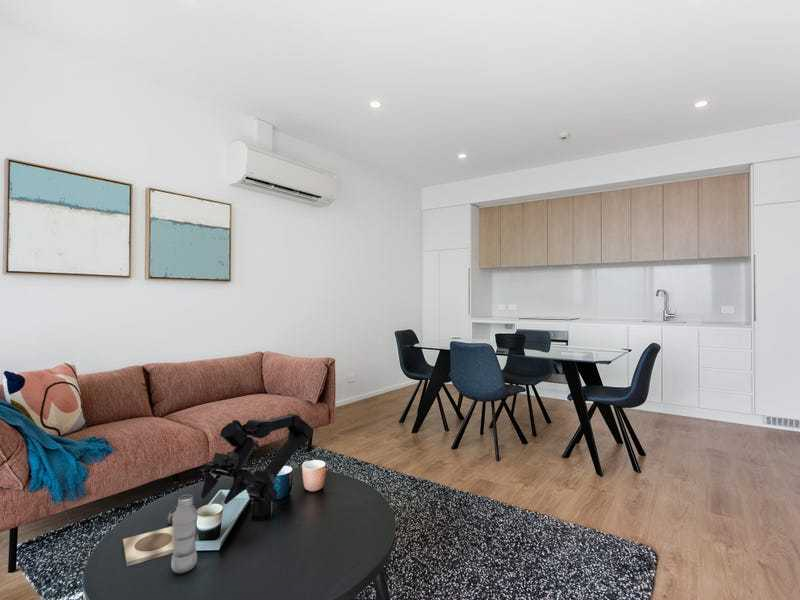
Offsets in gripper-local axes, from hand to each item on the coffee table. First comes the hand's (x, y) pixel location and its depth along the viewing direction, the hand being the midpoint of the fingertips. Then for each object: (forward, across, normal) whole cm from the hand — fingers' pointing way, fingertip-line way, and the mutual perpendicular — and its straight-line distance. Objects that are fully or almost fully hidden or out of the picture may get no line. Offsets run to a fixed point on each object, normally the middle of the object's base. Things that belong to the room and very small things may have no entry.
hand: (213, 500), depth 130 cm
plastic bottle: (+18, +2, +2) cm, 18 cm away
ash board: (+14, -17, +5) cm, 23 cm away
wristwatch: (+5, -23, +15) cm, 28 cm away
